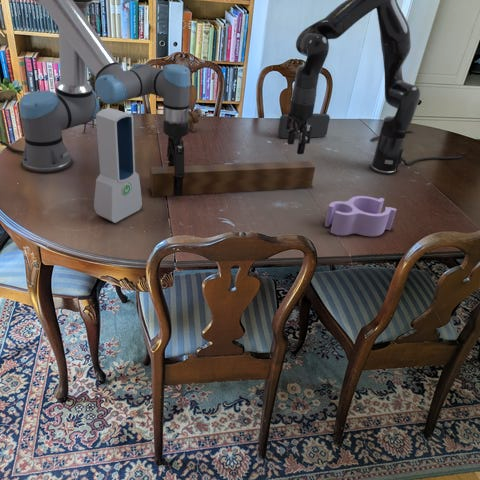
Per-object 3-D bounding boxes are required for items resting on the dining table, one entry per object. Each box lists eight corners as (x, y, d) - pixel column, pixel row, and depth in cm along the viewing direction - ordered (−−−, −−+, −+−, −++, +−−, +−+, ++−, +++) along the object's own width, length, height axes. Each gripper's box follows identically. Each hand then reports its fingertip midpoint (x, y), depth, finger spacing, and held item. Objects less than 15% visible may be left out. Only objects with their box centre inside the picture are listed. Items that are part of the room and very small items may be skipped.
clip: (337, 240, 135) (342, 219, 131) (318, 218, 145) (322, 198, 141) (395, 233, 141) (402, 213, 137) (373, 213, 151) (378, 194, 147)
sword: (408, 129, 227) (409, 127, 226) (413, 131, 225) (414, 129, 224) (366, 140, 211) (366, 138, 210) (371, 143, 209) (371, 140, 208)
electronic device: (112, 224, 131) (106, 120, 115) (93, 216, 134) (84, 113, 118) (143, 208, 140) (140, 109, 124) (124, 200, 143) (119, 103, 127)
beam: (152, 196, 147) (152, 173, 143) (150, 189, 151) (150, 166, 147) (311, 187, 163) (315, 166, 159) (305, 181, 167) (309, 160, 163)
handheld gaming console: (323, 134, 210) (328, 113, 204) (326, 137, 208) (331, 115, 202) (276, 136, 203) (280, 113, 197) (279, 138, 201) (282, 115, 195)
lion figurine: (199, 126, 204) (200, 106, 199) (202, 131, 200) (204, 110, 195) (166, 128, 199) (166, 107, 194) (169, 132, 195) (169, 111, 190)
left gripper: (196, 133, 131) (193, 203, 143) (181, 108, 148) (180, 172, 160) (170, 134, 128) (169, 205, 141) (157, 108, 146) (158, 173, 158)
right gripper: (323, 107, 142) (314, 157, 151) (305, 93, 153) (297, 140, 162) (301, 107, 140) (292, 157, 149) (283, 93, 151) (277, 141, 160)
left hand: (175, 187), depth 150 cm, fingers open, 10 cm apart
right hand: (295, 148), depth 155 cm, fingers open, 8 cm apart
